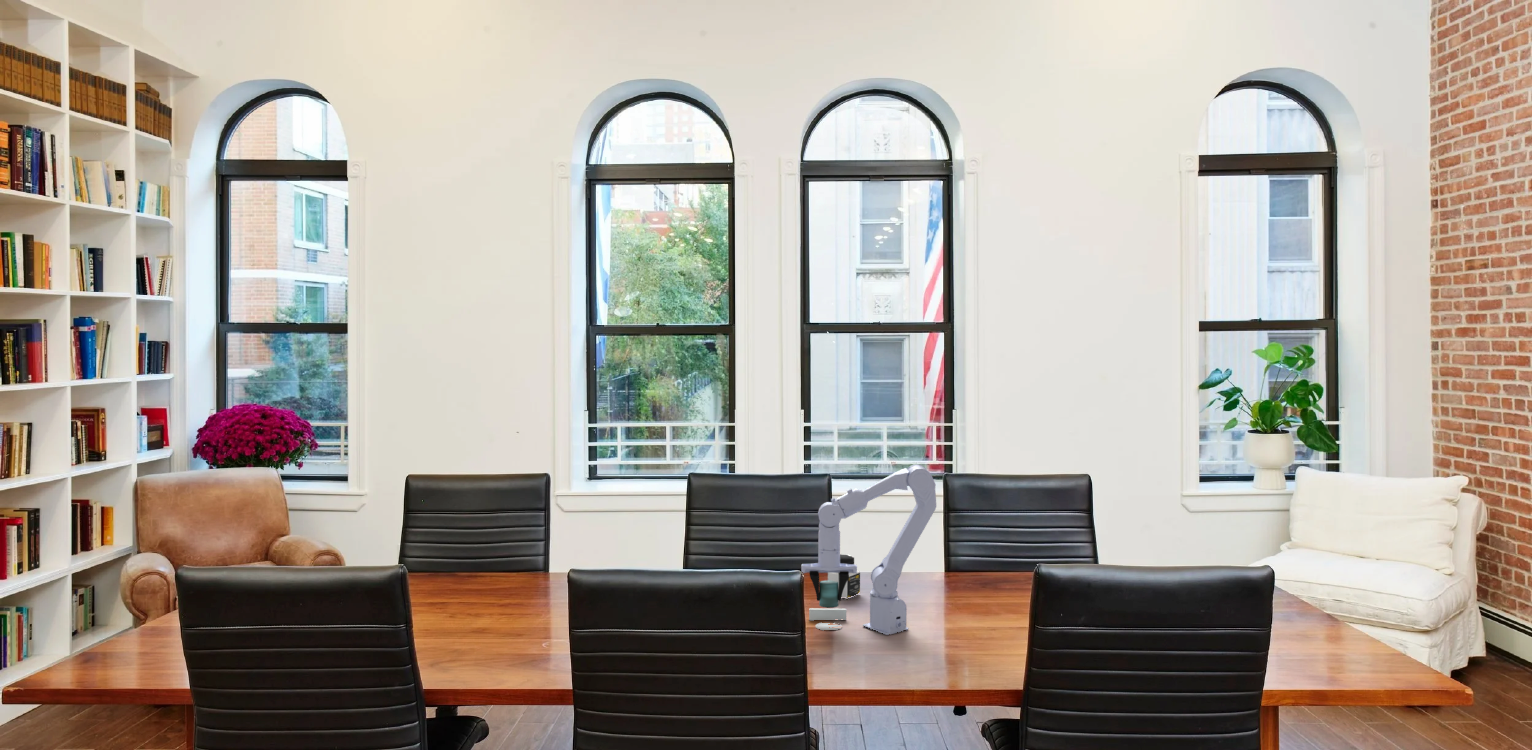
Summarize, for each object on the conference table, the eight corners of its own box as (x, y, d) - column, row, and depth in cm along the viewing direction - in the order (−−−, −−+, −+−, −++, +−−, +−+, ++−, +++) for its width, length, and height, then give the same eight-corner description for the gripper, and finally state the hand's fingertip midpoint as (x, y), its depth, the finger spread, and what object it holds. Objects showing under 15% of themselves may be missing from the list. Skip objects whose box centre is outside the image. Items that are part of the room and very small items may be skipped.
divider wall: (846, 619, 246) (846, 608, 246) (846, 620, 245) (846, 609, 245) (809, 619, 247) (809, 608, 246) (809, 620, 246) (809, 609, 245)
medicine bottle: (847, 600, 266) (847, 559, 265) (827, 596, 270) (827, 555, 270) (860, 594, 271) (860, 554, 271) (840, 590, 276) (840, 551, 275)
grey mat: (847, 627, 239) (847, 626, 239) (827, 632, 235) (827, 631, 235) (830, 621, 245) (830, 620, 245) (810, 625, 241) (810, 625, 241)
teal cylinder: (842, 605, 239) (842, 583, 239) (827, 608, 236) (827, 585, 236) (830, 602, 243) (830, 579, 243) (815, 604, 240) (815, 581, 241)
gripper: (855, 545, 243) (855, 595, 244) (801, 544, 243) (801, 595, 244) (857, 551, 236) (857, 603, 237) (801, 550, 236) (801, 602, 237)
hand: (828, 599), depth 240 cm, fingers closed on teal cylinder, 5 cm apart
